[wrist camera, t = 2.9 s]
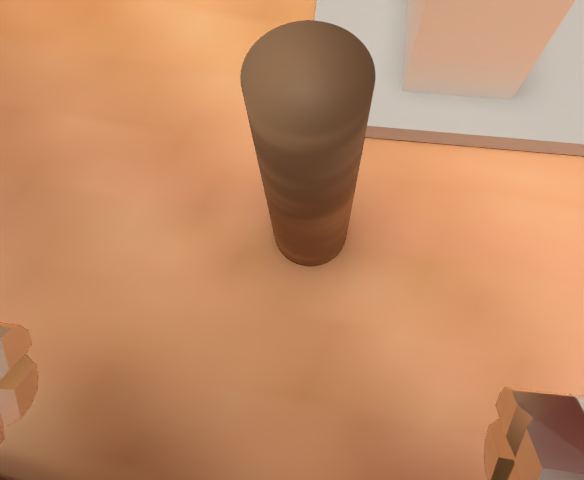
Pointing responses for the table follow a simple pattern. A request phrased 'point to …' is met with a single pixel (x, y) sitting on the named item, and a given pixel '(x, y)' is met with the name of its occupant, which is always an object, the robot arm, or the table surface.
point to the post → (308, 131)
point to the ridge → (472, 70)
